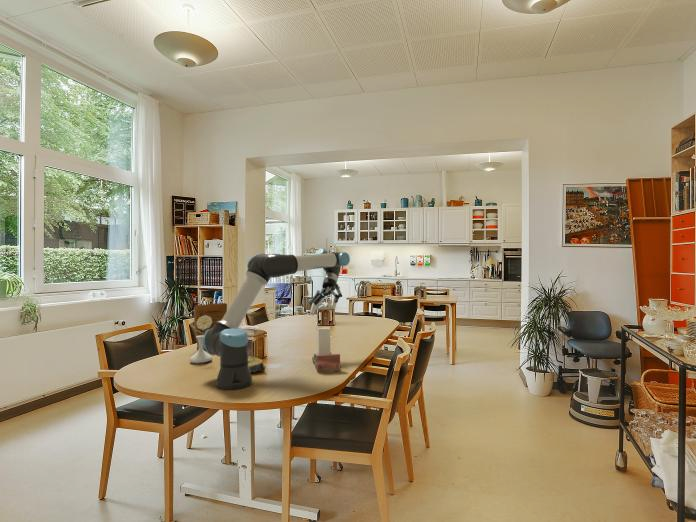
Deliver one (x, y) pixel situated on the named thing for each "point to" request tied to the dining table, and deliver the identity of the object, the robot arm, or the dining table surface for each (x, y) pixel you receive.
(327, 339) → the block
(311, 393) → the dining table surface
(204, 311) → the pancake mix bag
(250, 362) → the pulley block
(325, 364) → the red brick
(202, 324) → the flower in vase
